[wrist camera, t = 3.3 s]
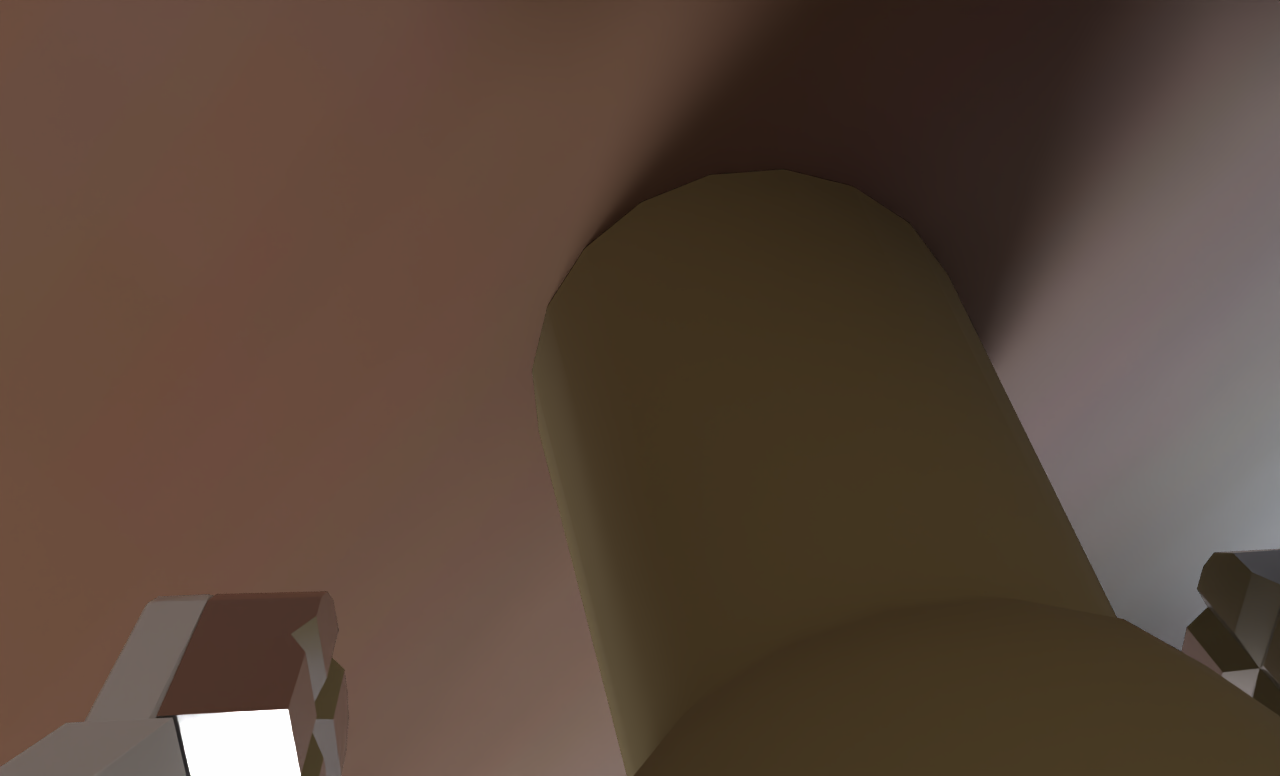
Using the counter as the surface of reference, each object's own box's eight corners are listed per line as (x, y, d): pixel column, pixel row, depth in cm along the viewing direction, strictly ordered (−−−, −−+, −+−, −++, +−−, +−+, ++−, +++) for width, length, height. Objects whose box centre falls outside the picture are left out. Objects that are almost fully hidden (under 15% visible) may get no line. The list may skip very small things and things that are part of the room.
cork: (851, 78, 14) (1605, 649, 4) (1029, 442, 16) (1769, 1364, 6) (443, 318, 15) (216, 1262, 5) (669, 628, 17) (823, 1676, 7)
